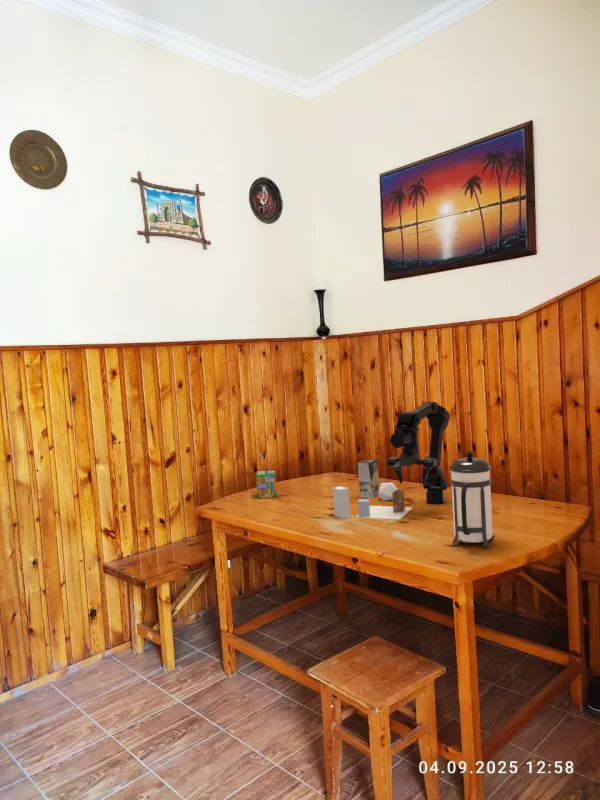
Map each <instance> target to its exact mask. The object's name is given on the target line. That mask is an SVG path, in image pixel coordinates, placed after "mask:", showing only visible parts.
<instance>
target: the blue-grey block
mask: <svg viewBox="0 0 600 800" xmlns="http://www.w3.org/2000/svg"><path fill="white" fill-rule="evenodd" d="M357 504H358V506H357V507H358V514H359V517H358V518H368V517H369V516H370V506H371V505H370V498H359V499H358V501H357Z"/></svg>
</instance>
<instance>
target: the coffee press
mask: <svg viewBox="0 0 600 800" xmlns="http://www.w3.org/2000/svg"><path fill="white" fill-rule="evenodd" d="M465 455H466V457H463V458H461V457H460V458H458V459H455V460H453V462H452V463H451V465H450V466H449V470H450V473H451V478H450V484H451V494H452V514H453V531H454V532H453V533H454V534H453V535H454V538H453V540H452V545H454V546H456V547H458V546H459V544H460V543H462V542H464V543H465V542H466V543H480V544H481V546H482V548H483V547H485V548H484V549H487V547H488V548H489V547H490V543H489V540H491V538H493V540H495V536H494V534H493V516H492V514H493V513H492V512H493V511H492V492H491V485H492V478H491V470H492V466H491V465H490V463H489V462H488V461H487V460H486V459H483V458H480V457H473V456H474V452H472V451H471V450H468V451H466V453H465Z"/></svg>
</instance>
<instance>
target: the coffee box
mask: <svg viewBox="0 0 600 800" xmlns="http://www.w3.org/2000/svg"><path fill="white" fill-rule="evenodd" d="M378 463H379V462H378V459H375V458H374V459H373V458H372V459H364V460H363V459H362V460H361V461H359V462H357V468H358V487H359V490H358V491H359V499H375V497H377V496H379V495H378V492H379V488H380V482H379V480H380V479H379V464H378Z"/></svg>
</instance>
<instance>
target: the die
mask: <svg viewBox="0 0 600 800" xmlns="http://www.w3.org/2000/svg"><path fill="white" fill-rule="evenodd" d="M396 490H399V489H398V488H397V486H396V485H395V483H394V482H389V481H388V482H381V483H380V484H379V492H378V495H377V496H379V498H380V500H381V501H382V502H389V501H393V496H392V493H393V492H394V491H396Z"/></svg>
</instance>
